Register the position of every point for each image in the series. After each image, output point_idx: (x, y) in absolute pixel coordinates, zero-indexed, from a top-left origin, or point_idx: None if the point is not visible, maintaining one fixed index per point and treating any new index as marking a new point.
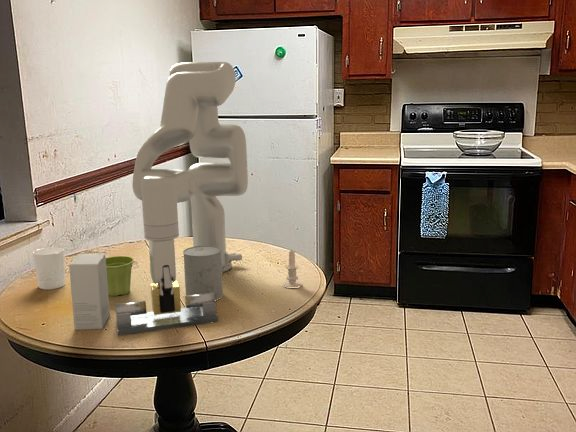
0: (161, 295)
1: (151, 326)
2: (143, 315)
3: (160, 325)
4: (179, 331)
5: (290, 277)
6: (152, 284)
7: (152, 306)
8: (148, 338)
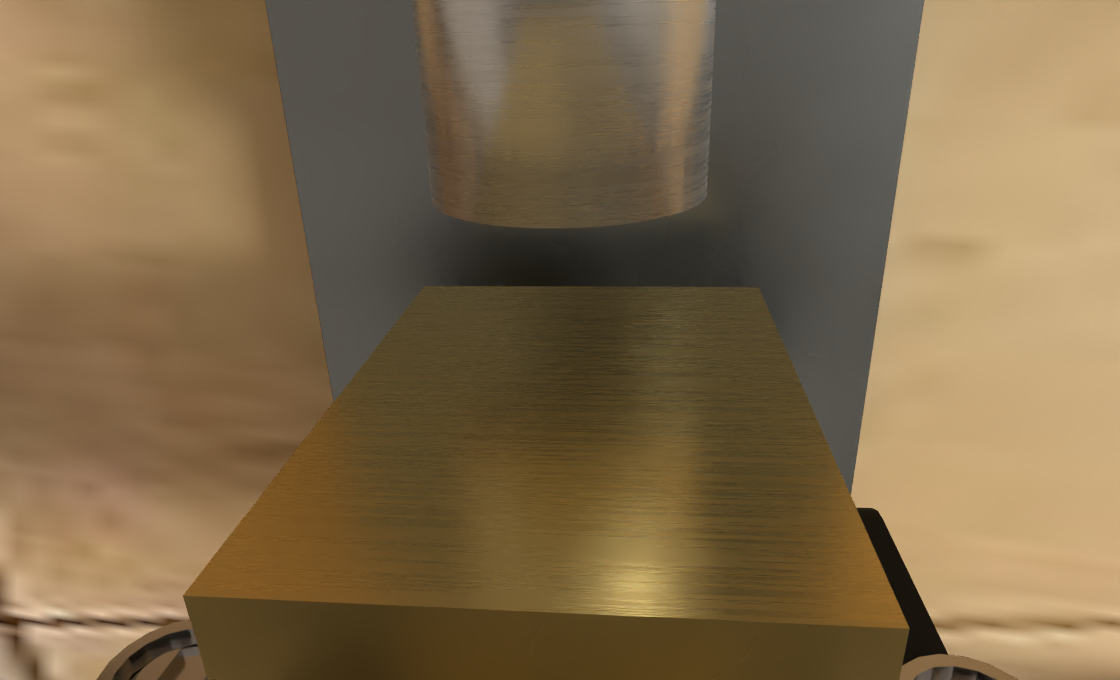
0: (120, 664)
1: (309, 196)
2: (779, 108)
3: (322, 312)
4: (261, 468)
5: None
6: (754, 666)
7: (668, 309)
8: (106, 123)
